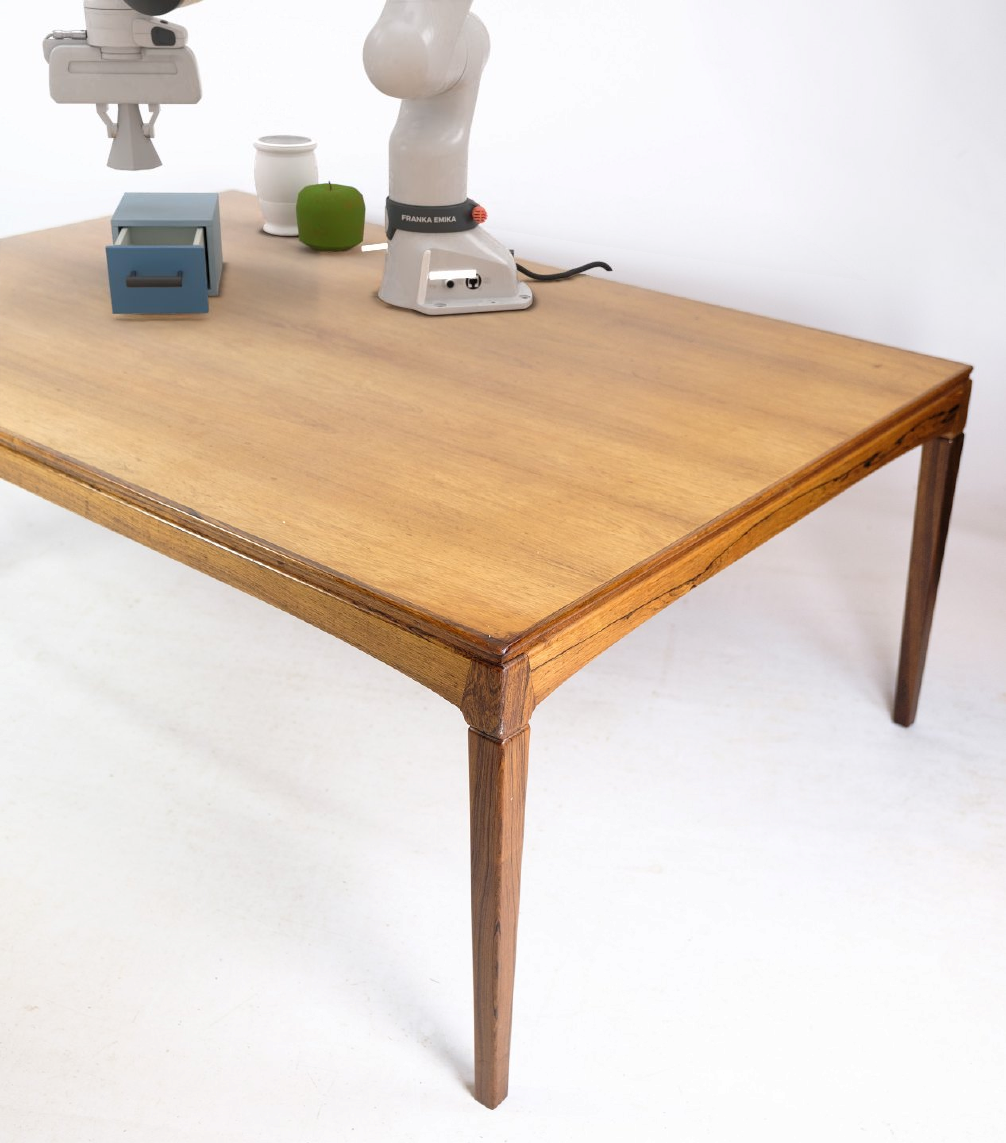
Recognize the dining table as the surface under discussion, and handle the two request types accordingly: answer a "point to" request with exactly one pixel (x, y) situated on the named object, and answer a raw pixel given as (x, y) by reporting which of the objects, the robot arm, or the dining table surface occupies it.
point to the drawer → (159, 270)
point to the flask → (132, 143)
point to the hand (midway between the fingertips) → (132, 137)
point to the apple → (330, 217)
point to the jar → (283, 178)
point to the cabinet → (176, 220)
